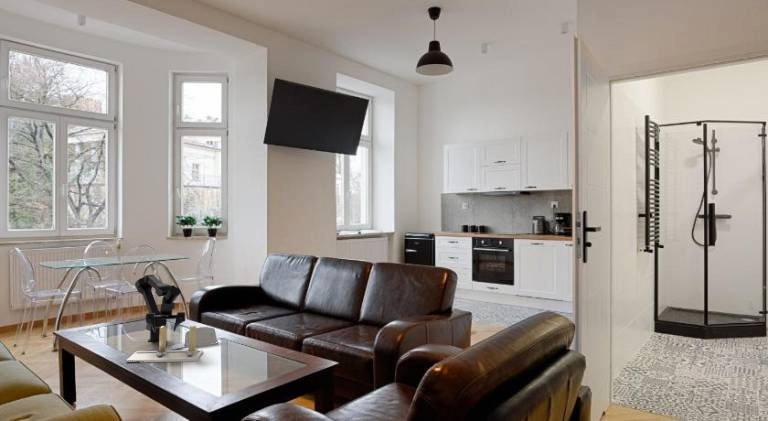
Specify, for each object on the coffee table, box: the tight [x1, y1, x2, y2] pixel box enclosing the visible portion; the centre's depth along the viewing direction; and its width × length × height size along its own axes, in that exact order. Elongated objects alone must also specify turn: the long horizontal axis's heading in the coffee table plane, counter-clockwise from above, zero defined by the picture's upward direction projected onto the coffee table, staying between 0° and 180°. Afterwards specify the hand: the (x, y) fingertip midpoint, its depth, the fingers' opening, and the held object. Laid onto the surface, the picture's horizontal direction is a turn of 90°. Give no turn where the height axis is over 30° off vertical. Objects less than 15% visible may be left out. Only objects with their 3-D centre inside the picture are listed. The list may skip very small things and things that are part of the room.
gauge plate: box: [126, 325, 204, 363], centre depth 230 cm, size 14×32×15 cm, turn 100°
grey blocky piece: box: [184, 326, 218, 348], centre depth 254 cm, size 17×5×10 cm, turn 125°
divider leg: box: [156, 325, 169, 356], centre depth 229 cm, size 7×4×14 cm
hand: (164, 331), depth 237 cm, fingers open, 9 cm apart
